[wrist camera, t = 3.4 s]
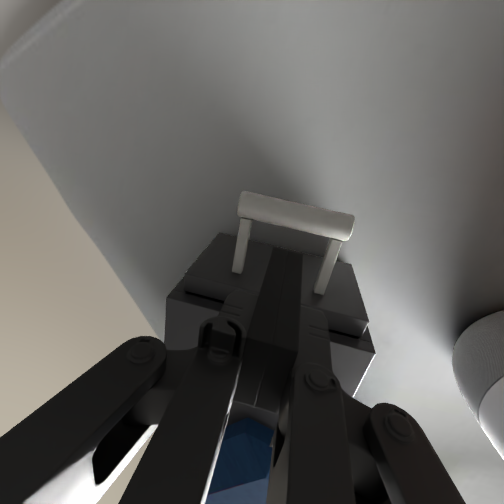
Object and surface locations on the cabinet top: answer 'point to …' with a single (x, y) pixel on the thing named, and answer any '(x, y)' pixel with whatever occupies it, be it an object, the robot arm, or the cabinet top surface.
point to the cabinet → (200, 309)
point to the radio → (242, 465)
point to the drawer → (258, 254)
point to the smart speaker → (483, 374)
